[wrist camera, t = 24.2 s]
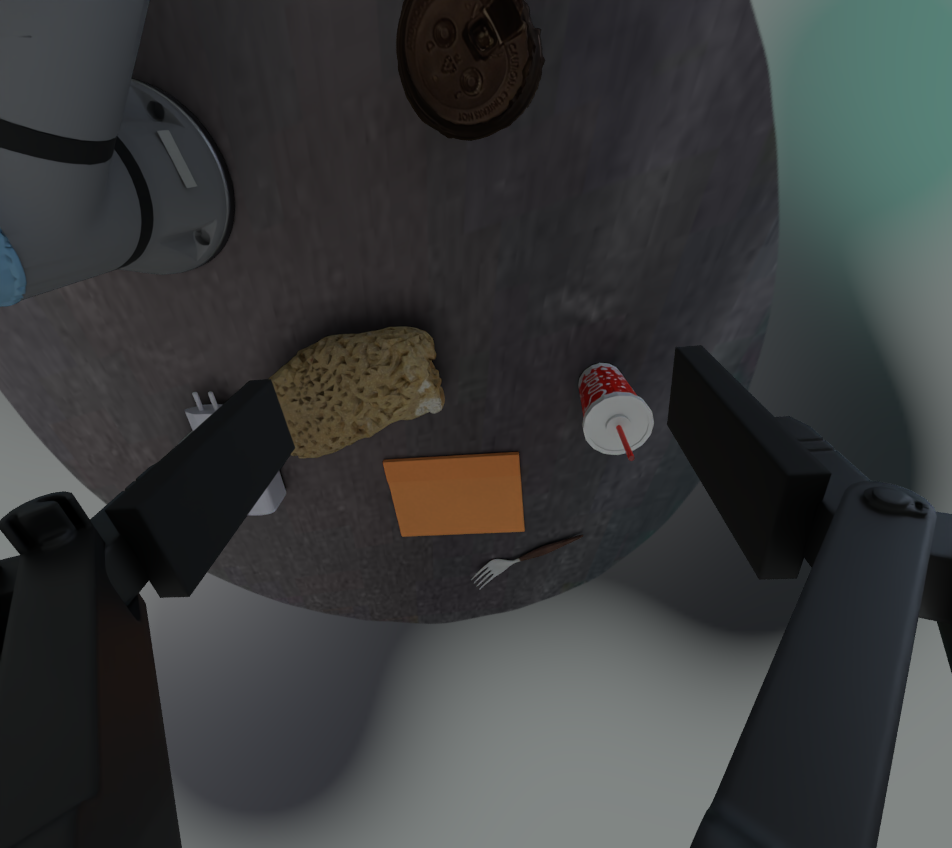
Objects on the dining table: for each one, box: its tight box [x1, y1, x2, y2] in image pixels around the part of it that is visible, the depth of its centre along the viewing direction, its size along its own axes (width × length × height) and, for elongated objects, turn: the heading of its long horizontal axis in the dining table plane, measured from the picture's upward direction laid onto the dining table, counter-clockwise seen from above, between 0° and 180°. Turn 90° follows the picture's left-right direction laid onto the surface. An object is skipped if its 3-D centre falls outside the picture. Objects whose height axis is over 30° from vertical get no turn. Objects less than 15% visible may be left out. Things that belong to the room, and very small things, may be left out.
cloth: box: [383, 452, 524, 537], centre depth 58 cm, size 16×12×1 cm
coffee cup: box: [396, 0, 545, 141], centre depth 31 cm, size 9×8×13 cm
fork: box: [471, 535, 583, 590], centre depth 61 cm, size 3×16×2 cm, turn 121°
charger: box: [179, 391, 286, 515], centre depth 53 cm, size 5×9×15 cm
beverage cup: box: [578, 363, 654, 461], centre depth 43 cm, size 6×6×14 cm
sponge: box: [268, 326, 445, 458], centre depth 48 cm, size 13×8×20 cm
